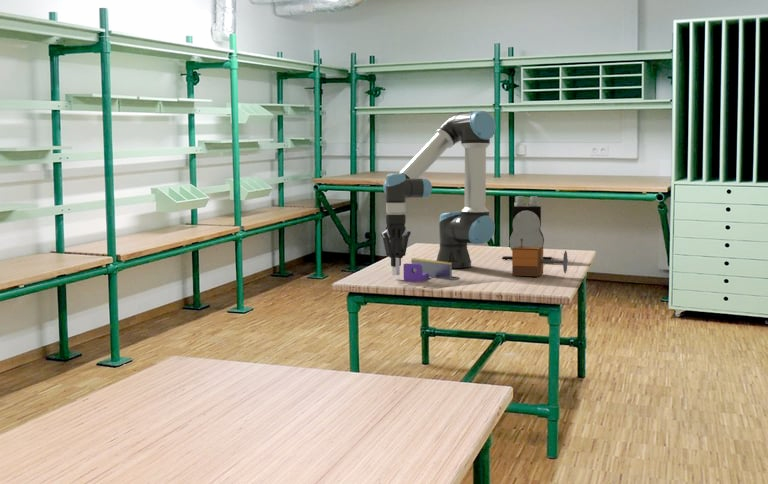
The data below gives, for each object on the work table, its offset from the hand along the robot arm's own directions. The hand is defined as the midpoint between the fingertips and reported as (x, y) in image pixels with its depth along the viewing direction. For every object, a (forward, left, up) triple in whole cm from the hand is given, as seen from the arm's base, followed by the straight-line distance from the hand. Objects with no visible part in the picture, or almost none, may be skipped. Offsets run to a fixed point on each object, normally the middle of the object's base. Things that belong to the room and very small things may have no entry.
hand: (395, 274), depth 332 cm
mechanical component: (-84, -13, -2) cm, 85 cm away
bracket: (-6, +5, -2) cm, 8 cm away
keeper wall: (-15, +3, -2) cm, 15 cm away
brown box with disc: (-53, +25, -2) cm, 59 cm away
